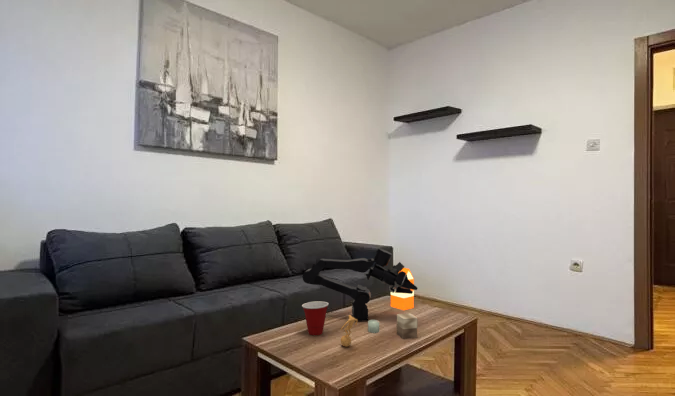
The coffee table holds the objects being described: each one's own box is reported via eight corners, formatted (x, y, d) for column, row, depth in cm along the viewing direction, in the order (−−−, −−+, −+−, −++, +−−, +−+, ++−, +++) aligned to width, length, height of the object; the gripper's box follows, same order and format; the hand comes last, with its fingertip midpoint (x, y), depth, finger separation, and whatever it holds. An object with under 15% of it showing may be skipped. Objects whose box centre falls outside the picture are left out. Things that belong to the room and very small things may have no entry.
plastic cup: (311, 326, 162) (311, 298, 162) (333, 331, 157) (333, 302, 157) (296, 334, 153) (296, 304, 153) (318, 339, 147) (318, 308, 147)
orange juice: (403, 310, 187) (404, 269, 187) (390, 306, 194) (390, 267, 194) (414, 307, 192) (414, 267, 192) (400, 303, 199) (400, 265, 199)
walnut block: (402, 339, 149) (402, 329, 149) (396, 334, 155) (396, 324, 155) (416, 338, 151) (417, 327, 151) (410, 332, 156) (410, 323, 156)
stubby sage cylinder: (370, 333, 155) (370, 323, 155) (366, 329, 159) (366, 320, 159) (380, 332, 156) (380, 322, 156) (376, 328, 161) (377, 319, 161)
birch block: (403, 329, 149) (403, 318, 149) (396, 324, 155) (397, 314, 155) (417, 327, 151) (417, 317, 151) (410, 323, 156) (410, 313, 156)
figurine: (349, 341, 146) (350, 310, 146) (361, 346, 141) (362, 313, 141) (334, 347, 140) (334, 314, 140) (345, 352, 135) (346, 318, 135)
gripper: (393, 253, 166) (426, 270, 164) (386, 264, 183) (416, 279, 181) (382, 276, 162) (417, 293, 159) (377, 285, 179) (407, 300, 177)
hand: (414, 290), depth 169 cm, fingers open, 9 cm apart
